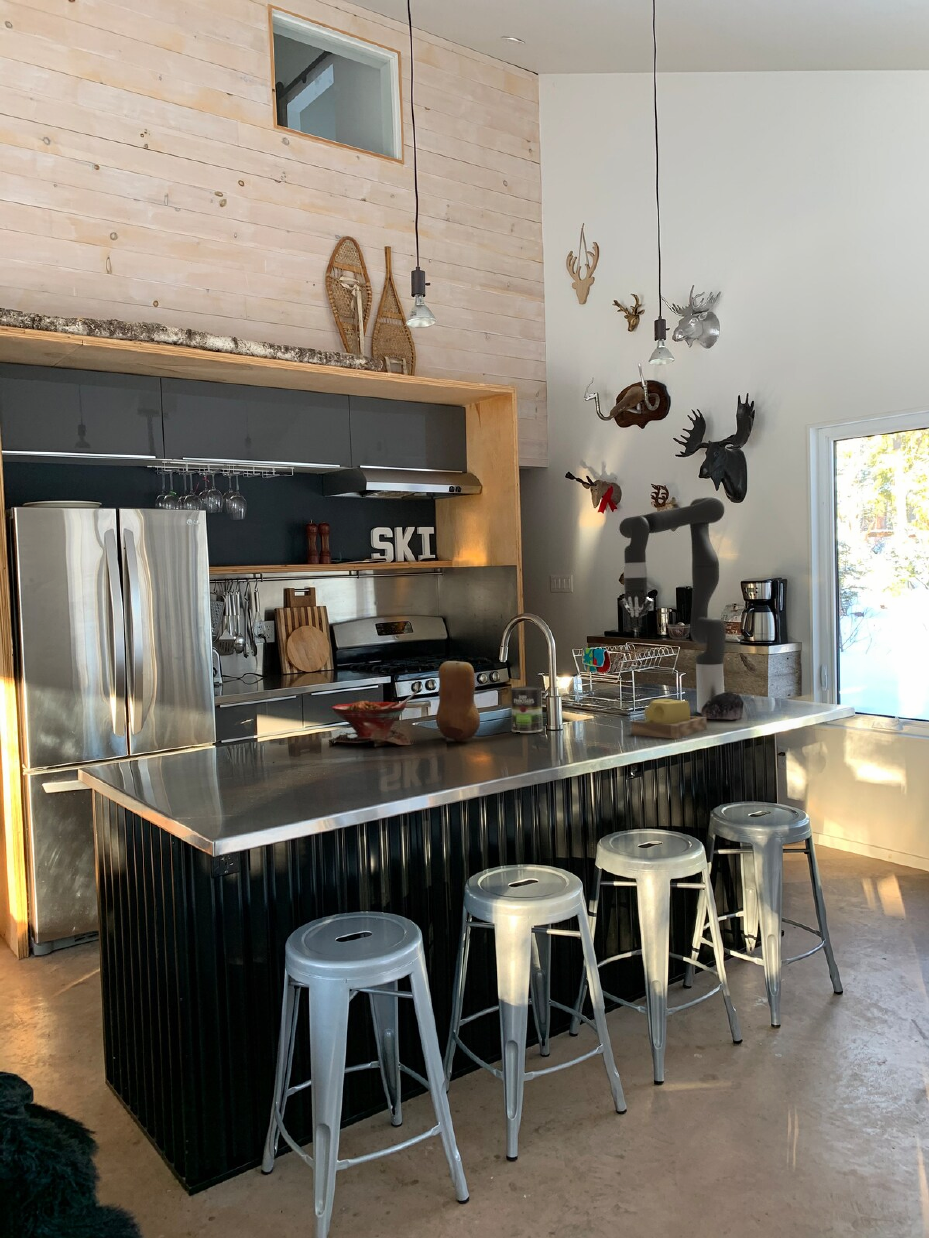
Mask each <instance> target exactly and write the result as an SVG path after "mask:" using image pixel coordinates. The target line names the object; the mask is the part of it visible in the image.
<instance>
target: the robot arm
mask: <svg viewBox="0 0 929 1238" xmlns="http://www.w3.org/2000/svg"><path fill="white" fill-rule="evenodd" d="M725 510H726V509H725V505H724V503H723V501H722V500H721V499H720V498H718V497H715V496H705V497H699V498H695V499H694V500H692V501H691V502H690V504H689V505H688V506H687V505H686V506H682V507H681V506H680V507H673V508H668V509H662V510H657V511H654V512H651V513H648V514H642V515H635V516H629V517H626V518H624V519H623V520H622V521H621V522H620V523H619V527H618V530H619V533H620V534H621V535H622V536H623V537H624V538H627V539H630V542H629V544H628V545H627V546H625V548H624V551H623V553H624V557H623V558H624V569H623V578H624V581H623V585H624V595H623V597H624V598H622V600H619V601H618V604H619V606H620V607H621V609H622V610H623V611H624V612H625V614H626V615H627V616H630V617H631V625H632V628H633V629H640V628H641V627H642V621H643V619H642V618H643V616H646V615H648V612H649V611H650V609H651V608H652V607H653V605H654V603H655V600H654V599H651V598H649V594H648V569H647V561H646V560H647V559H646V557H647V555H646V554H647V553H646V549H647V545H648V541H649V536H650V534H656V533H657V534H658V533H662V532H665V531H669V530H673V529H676V528H677V529H678V528H681V527H683V526H687V525H689V529H690V537H691V559H692V560H691V577H692V578H691V580H692V601H691V602H692V603H691V613H690V625H689V626H690V629H689V631H690V637H691V639H692V641H693V642H694V643H696V644H698V645H699V644H700V645H705V646H706V648H705V651H704V652H703V653H700V654H697V655H696V657H695V668H696V670H695V671H696V709H697V713H699V714H702V712H701V710H702V707H703V706H704V705H705V704H706V702H707V701H709V700H710V699H711V698H713V697H715V696H716V695H718V694H721V693H724V692H725V684H724V683H725V682H724V680H725V679H724V676H725V675H724V658H725V656H726V655H725V654H726V635H727V633H726V626H725V623H724V621H723V620H722V619H720V618H718V617H708V615H709V614H708V613H709V610H708V608H709V603H710V600H711V598H712V596H713V594H714V592H716V588H717V586H718V585H719V581H720V562H719V557H718V555H717V552H716V550H715V549H714V547H713V545H712V542H711V540H710V534H709V533H710V530H709V526H710V525H709V524H714V523H717V522H719V521H720V520H722V518H723V516H724V514H725Z"/></svg>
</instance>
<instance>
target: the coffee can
mask: <svg viewBox="0 0 929 1238" xmlns="http://www.w3.org/2000/svg"><path fill="white" fill-rule="evenodd" d="M509 690H510V703H511V704H510V708H511V732H512V733H516V732H520V733H519V734H533V733H534V734H535V733H540V732H543V731H544V729H543V697H542V694H543V692H542V690H543V687H540V686H531V685H529V686H513V687H511V688H510V689H509Z"/></svg>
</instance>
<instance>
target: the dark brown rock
mask: <svg viewBox="0 0 929 1238" xmlns="http://www.w3.org/2000/svg"><path fill="white" fill-rule="evenodd" d="M701 712H702V713H701V717H706V720H707V719H709V720H732V721H733V720H739V719H741V718H742V717H743V714H744V701H743V699H742V697H741V695H740V694H738V693H735V692H733V691H730V690H729V691H726V692H725V691H724V693H721V694H718V695H716V696H715V697H713V698H711V699H710V700H709V701H707V702H706V704H705V705H704V706H703V707H702V710H701Z"/></svg>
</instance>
